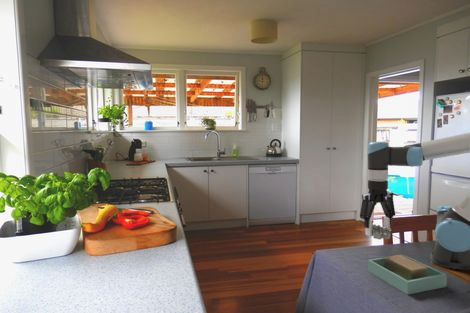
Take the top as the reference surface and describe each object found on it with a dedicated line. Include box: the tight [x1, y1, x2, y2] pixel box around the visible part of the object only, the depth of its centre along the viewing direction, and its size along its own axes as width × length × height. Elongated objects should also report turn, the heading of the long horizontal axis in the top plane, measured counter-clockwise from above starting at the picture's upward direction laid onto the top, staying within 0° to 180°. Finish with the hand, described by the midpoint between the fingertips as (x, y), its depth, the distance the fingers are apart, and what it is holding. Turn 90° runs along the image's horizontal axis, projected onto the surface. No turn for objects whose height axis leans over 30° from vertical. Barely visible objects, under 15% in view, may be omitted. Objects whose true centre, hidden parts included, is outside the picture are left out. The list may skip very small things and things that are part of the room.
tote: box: [367, 254, 448, 296], centre depth 114 cm, size 17×19×5 cm
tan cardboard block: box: [385, 254, 428, 281], centre depth 114 cm, size 7×12×6 cm, turn 17°
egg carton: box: [371, 224, 393, 240], centre depth 131 cm, size 11×8×4 cm
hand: (377, 234), depth 131 cm, fingers closed on egg carton, 8 cm apart
